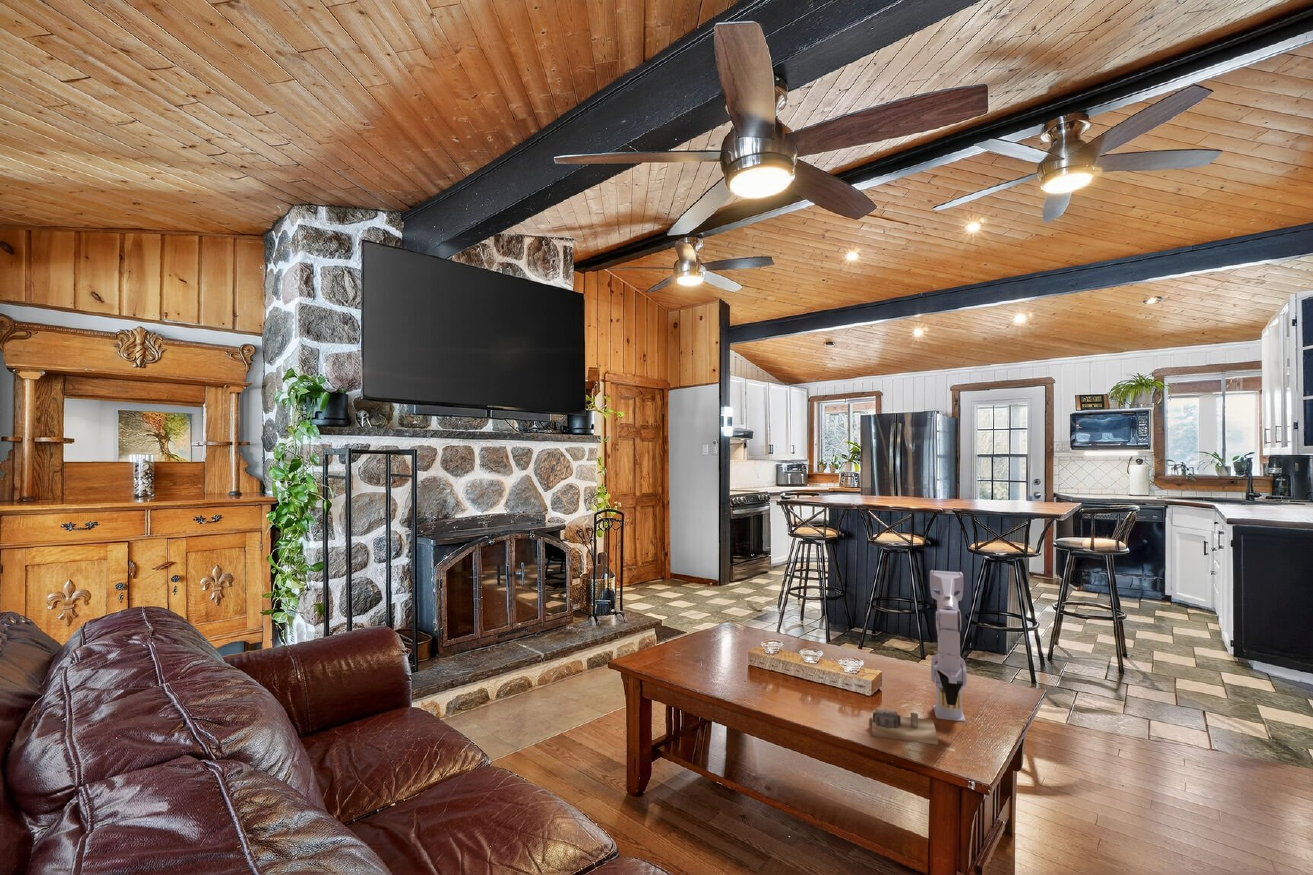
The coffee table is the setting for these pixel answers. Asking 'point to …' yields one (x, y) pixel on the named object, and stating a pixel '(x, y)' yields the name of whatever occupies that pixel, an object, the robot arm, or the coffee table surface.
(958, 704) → the brass gear
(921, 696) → the coffee table surface
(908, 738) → the gear board
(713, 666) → the coffee table surface
